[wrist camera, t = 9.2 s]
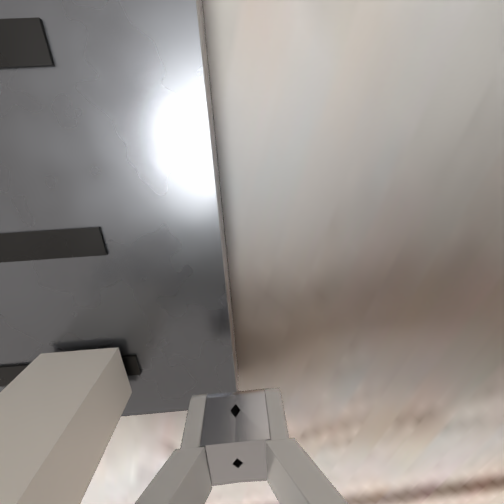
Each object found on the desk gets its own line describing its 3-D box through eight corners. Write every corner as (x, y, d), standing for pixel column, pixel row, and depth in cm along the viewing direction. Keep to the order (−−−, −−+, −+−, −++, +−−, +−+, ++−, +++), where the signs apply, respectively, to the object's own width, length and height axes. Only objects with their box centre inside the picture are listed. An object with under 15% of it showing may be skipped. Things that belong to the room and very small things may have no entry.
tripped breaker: (118, 347, 9) (1, 526, 5) (132, 391, 10) (44, 581, 6) (40, 353, 9) (-156, 543, 5) (60, 398, 10) (-89, 595, 6)
